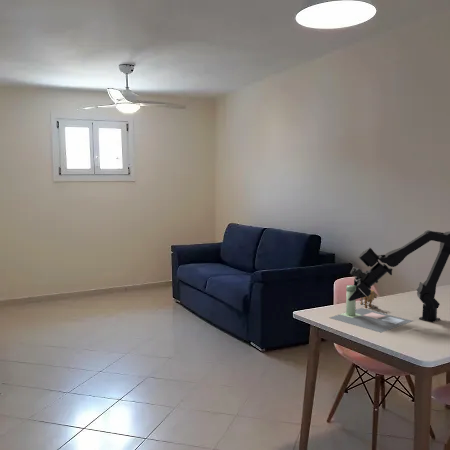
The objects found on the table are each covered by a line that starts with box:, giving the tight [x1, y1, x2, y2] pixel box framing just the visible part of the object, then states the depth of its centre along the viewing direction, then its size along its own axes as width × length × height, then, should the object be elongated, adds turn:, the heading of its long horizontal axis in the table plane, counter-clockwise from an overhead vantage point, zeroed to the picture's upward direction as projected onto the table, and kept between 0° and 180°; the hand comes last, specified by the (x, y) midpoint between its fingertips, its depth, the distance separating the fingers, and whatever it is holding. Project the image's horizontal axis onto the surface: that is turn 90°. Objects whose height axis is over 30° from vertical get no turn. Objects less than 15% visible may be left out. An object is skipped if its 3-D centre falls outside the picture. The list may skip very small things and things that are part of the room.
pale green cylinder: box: [345, 284, 357, 316], centre depth 210 cm, size 4×4×13 cm
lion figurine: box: [359, 289, 379, 309], centre depth 227 cm, size 15×5×9 cm, turn 9°
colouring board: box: [328, 307, 413, 334], centre depth 204 cm, size 24×26×1 cm
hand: (348, 297), depth 211 cm, fingers open, 9 cm apart
